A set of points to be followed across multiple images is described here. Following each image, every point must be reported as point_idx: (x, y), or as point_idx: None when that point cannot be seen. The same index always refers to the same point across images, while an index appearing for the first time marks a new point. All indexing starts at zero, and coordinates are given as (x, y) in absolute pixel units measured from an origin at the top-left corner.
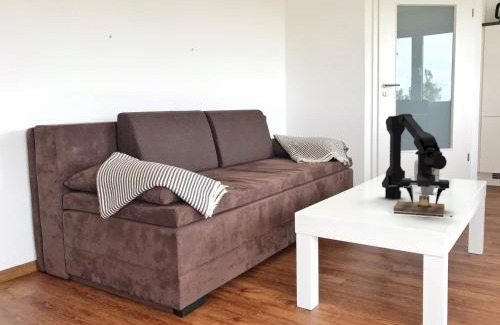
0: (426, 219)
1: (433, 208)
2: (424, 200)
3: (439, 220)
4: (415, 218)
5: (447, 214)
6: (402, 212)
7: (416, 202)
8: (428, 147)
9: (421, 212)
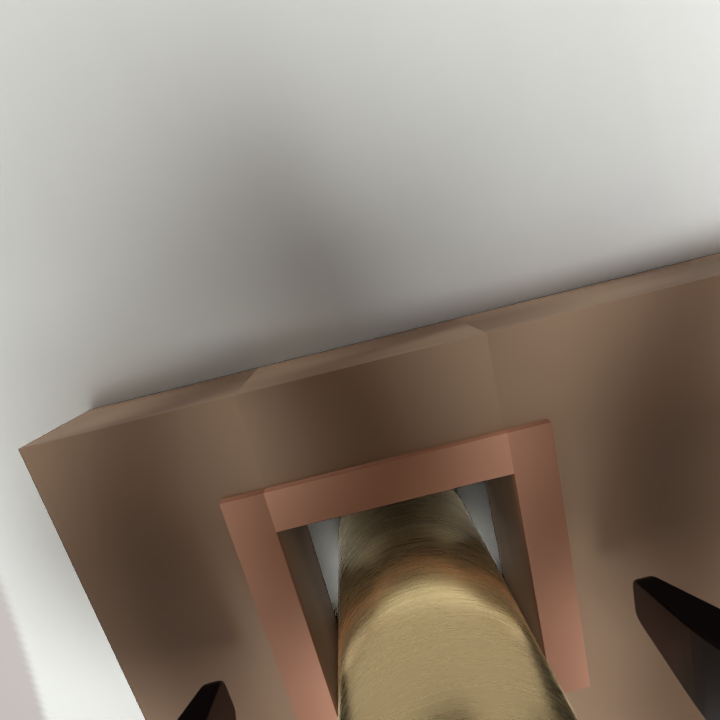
0: (228, 127)
1: (228, 524)
2: (418, 646)
3: (39, 172)
4: (396, 100)
5: None
6: (662, 273)
7: None
8: None
9: (381, 345)
